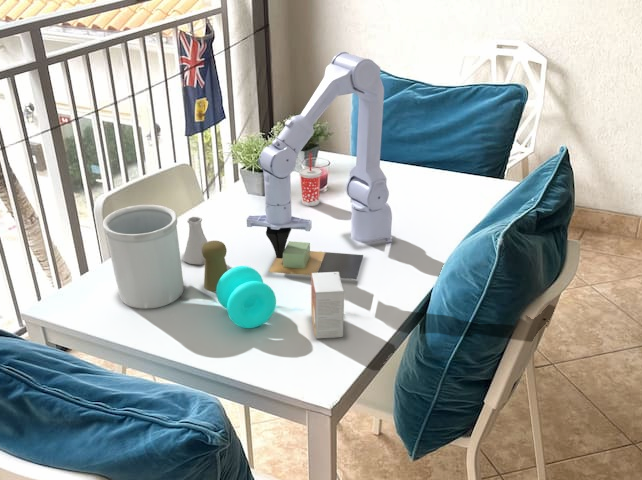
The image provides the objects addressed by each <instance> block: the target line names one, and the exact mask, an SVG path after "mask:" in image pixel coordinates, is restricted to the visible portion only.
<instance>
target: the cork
mask: <svg viewBox="0 0 642 480" xmlns="http://www.w3.org/2000/svg"><path fill="white" fill-rule="evenodd" d="M202 255H203V257H204V258H205V264H204V277H203V287H204V289H205V290H206V291H208V292H212V293H214V292H215V293H216V288H217V284H218V281H219V280H220V278H221V277H222V275H223V274H224V273H225V272H227V271H228V270H229V269H228V267H227V262H226V258H225V257H226V256H227V246H226V244H225V243H224V242H222V241H220V240H209V241H207V243H205V244H204V245H203V247H202Z"/></svg>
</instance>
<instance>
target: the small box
mask: <svg viewBox="0 0 642 480" xmlns="http://www.w3.org/2000/svg"><path fill="white" fill-rule="evenodd" d="M310 277H311V278H310V285H311V287H310V289H311V290H310V295H311V296H310V297H311V298H310V300H311V301H310V302H311V303H310V304H311V306H310V307H311V309H310V312H311V313H310V314H311V315H310V317H311V321H312V326H313V334H314V338H315V340H319V339H336V338H337V339H338V338H343V337H344V315H345V314H344V311H345V289H344V286H343V283H342V280H341V279H342V278H340V274H339V272H323V273H311V275H310Z"/></svg>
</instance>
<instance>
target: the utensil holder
mask: <svg viewBox="0 0 642 480" xmlns="http://www.w3.org/2000/svg"><path fill="white" fill-rule="evenodd" d="M177 215H178V214H177V213H176V212H175V211H174V210H173V209H171V208H169V207H167V206H163V205H157V204H138V205H130V206H126V207H122V208H119V209H117V210H114V211H113V212H110V213H109V214H108V215H106V216H105V217H104V219H103V220H102V229H103V232H104V233H105V237H106V241H107V245H108V246H107V247H108V250H109V255H110V260H111V264H112V268H113V273H114V279H115V282H116V285H117V290H118V294H119V298H120V300H121V302H122V303H124V305H126V306H127V307H131V308H134V309H141V310H143V309H145V310H147V309H148V310H149V309H157V308H162V307H165V306H168V305H169V304H172V303H174V302H176V301H177V300H178V299H179V298H180V297H181V296H182V295H183V293H184V289H185V288H184V280H183V279H184V278H183V268H182V260H181V252H180V251H181V250H180V244H179V234H178V226H177V225H178V216H177Z"/></svg>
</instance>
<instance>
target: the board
mask: <svg viewBox="0 0 642 480" xmlns="http://www.w3.org/2000/svg"><path fill="white" fill-rule="evenodd" d="M363 258H364V254H354V253H341V252H329V251H316V250H315V251H314V250H310V257H309V260H308V262H307V264H306V267H305V269H301V268H289V267H283V258H282V259H281V258H276V257H275V258H274V260H273V261H272V263H271V266H270V267H269V269H268V273H274V274H275V273H276V274H287V275H300V276H311V273H323V272H339V274H340V279H349V280H357V278H358V275H359V272H360V268H361V265H362V261H363Z"/></svg>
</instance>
